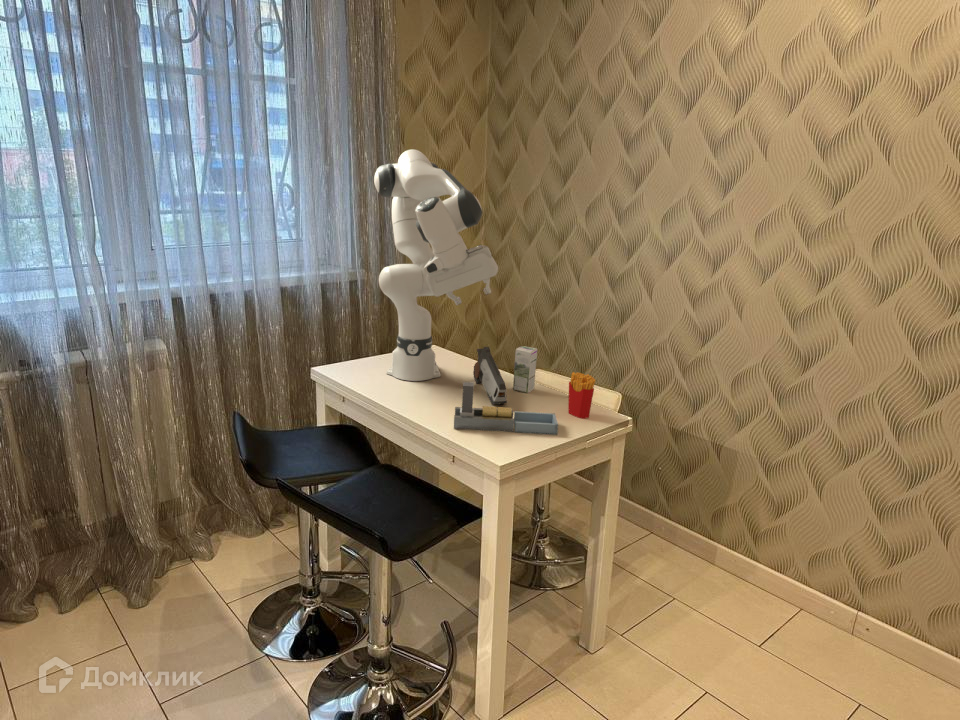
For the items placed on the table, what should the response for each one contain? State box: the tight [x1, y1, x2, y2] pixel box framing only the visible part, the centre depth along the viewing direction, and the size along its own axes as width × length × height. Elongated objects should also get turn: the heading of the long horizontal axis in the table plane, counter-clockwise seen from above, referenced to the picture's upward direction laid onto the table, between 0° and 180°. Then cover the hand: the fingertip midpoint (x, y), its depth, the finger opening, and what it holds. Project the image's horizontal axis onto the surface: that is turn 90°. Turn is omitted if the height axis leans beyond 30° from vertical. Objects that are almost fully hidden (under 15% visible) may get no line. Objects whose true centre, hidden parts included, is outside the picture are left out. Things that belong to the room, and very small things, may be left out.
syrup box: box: [512, 345, 538, 394], centre depth 230 cm, size 6×6×14 cm
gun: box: [472, 346, 508, 405], centre depth 226 cm, size 5×27×15 cm, turn 15°
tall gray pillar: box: [460, 381, 475, 416], centre depth 198 cm, size 4×4×11 cm
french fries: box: [567, 371, 597, 420], centre depth 210 cm, size 9×4×13 cm, turn 38°
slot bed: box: [453, 406, 515, 433], centre depth 199 cm, size 8×17×4 cm, turn 90°
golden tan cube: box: [482, 405, 498, 418], centre depth 199 cm, size 4×4×4 cm
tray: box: [513, 410, 559, 436], centre depth 200 cm, size 9×12×3 cm
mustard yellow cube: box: [496, 406, 513, 418], centre depth 199 cm, size 4×4×4 cm
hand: (473, 298), depth 194 cm, fingers open, 8 cm apart
